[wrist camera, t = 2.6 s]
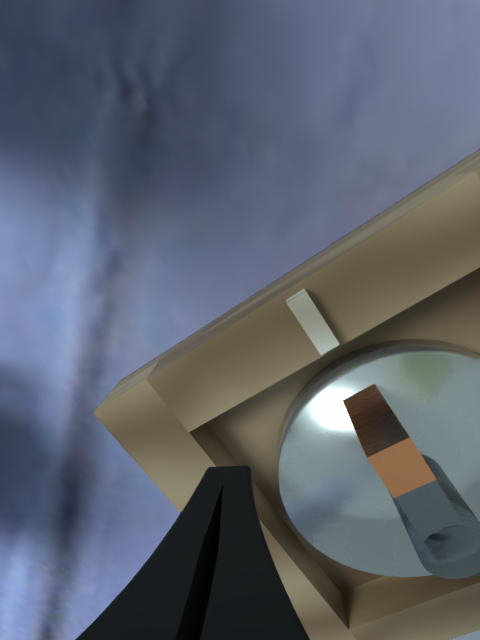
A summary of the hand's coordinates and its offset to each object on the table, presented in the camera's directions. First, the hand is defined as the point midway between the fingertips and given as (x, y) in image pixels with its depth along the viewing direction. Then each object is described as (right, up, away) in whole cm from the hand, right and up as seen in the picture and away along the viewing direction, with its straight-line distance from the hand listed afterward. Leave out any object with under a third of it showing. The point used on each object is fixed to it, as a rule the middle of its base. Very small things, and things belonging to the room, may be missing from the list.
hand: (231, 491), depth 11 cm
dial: (+8, -1, +5) cm, 10 cm away
